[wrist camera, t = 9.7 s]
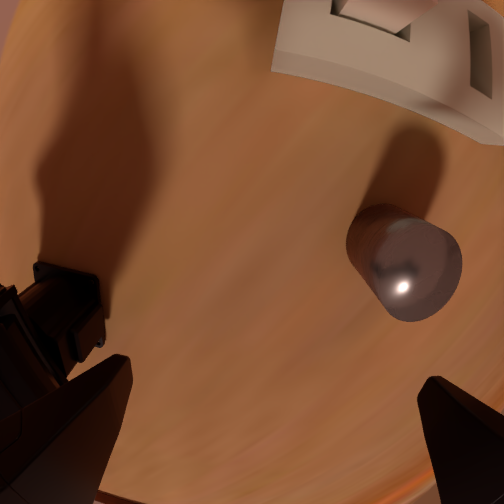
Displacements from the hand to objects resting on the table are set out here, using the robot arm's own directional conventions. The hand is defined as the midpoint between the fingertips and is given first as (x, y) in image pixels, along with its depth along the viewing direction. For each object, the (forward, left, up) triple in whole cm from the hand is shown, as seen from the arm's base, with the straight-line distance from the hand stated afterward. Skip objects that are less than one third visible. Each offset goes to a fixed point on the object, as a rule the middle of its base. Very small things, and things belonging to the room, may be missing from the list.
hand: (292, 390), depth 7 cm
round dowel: (+7, +2, -12) cm, 14 cm away
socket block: (+6, +16, -12) cm, 21 cm away
